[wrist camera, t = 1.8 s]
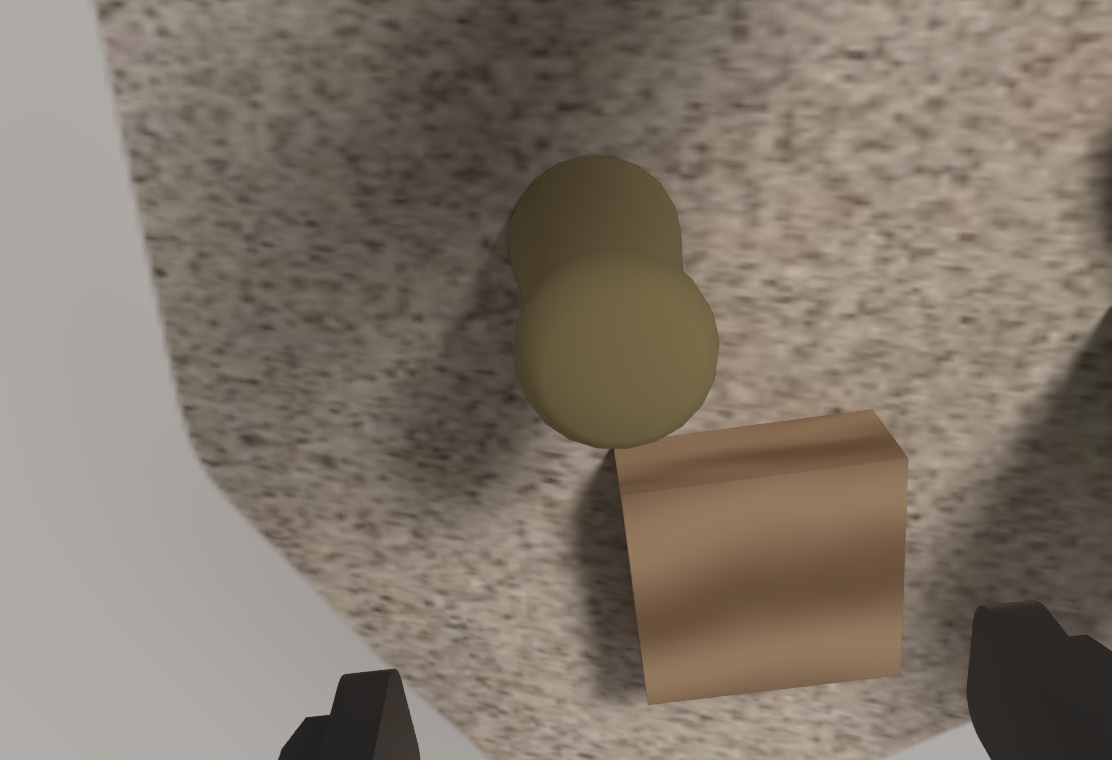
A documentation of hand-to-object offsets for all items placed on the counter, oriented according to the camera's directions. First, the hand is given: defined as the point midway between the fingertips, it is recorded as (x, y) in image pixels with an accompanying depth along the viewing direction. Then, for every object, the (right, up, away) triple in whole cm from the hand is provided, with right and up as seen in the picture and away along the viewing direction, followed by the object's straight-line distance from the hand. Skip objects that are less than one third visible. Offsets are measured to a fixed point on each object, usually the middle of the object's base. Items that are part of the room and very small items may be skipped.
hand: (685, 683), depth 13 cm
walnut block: (+6, -2, +25) cm, 25 cm away
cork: (0, +9, +19) cm, 21 cm away
